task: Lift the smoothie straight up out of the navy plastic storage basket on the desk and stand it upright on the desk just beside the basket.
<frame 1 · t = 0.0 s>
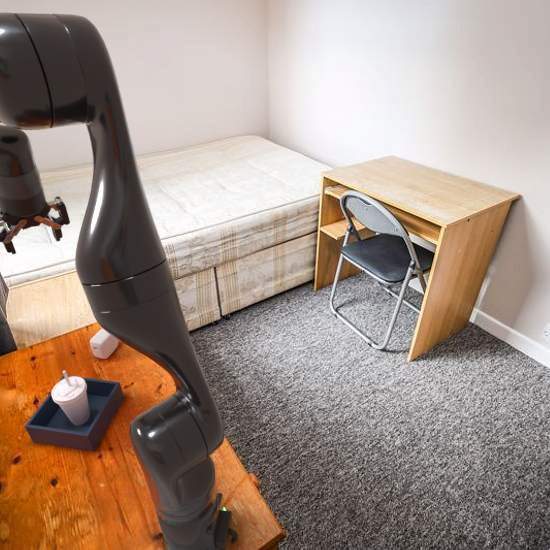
hand: (35, 244, 81), 31 cm above the table, tool tilted 20°, fingers open, 8 cm apart
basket: (81, 418, 83), on the table
power adapter: (113, 345, 101), on the table
smoothie: (81, 418, 83), resting on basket
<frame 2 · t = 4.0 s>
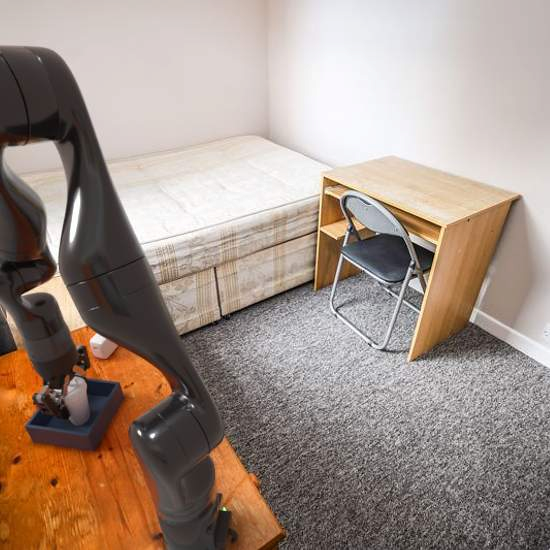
hand: (74, 402, 80), 5 cm above the table, tool pointing down, fingers closed on smoothie, 6 cm apart
smoothie: (81, 418, 83), resting on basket, touching gripper
everything else where it was.
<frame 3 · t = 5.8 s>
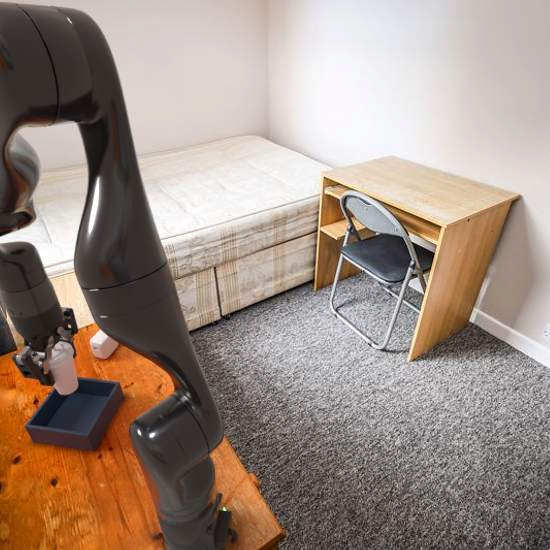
hand: (60, 369, 74), 16 cm above the table, tool pointing down, fingers closed on smoothie, 6 cm apart
smoothie: (68, 388, 77), point 10 cm above the table, touching gripper
everything else where it was.
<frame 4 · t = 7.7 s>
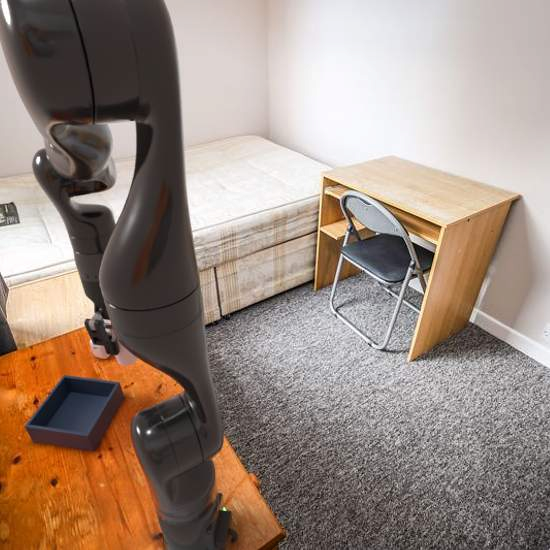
hand: (122, 340, 73), 21 cm above the table, tool pointing down, fingers closed on smoothie, 6 cm apart
smoothie: (127, 359, 76), point 16 cm above the table, touching gripper
everything else where it was.
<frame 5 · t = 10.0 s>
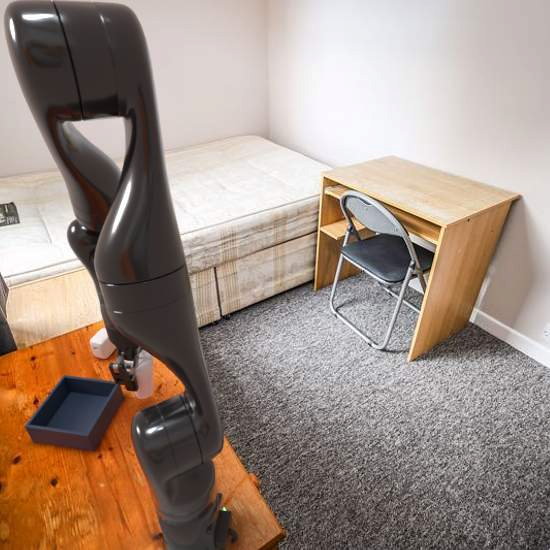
hand: (140, 376, 80), 10 cm above the table, tool pointing down, fingers closed on smoothie, 6 cm apart
smoothie: (144, 392, 83), point 5 cm above the table, touching gripper
everything else where it was.
when the fingers open (5 cm above the table, at t = 11.8 s): smoothie stays where it is, on the table.
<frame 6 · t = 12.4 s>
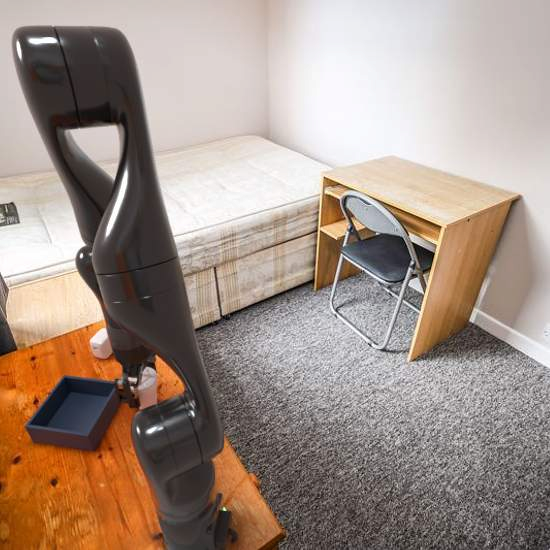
hand: (144, 390, 82), 6 cm above the table, tool pointing down, fingers open, 8 cm apart
smoothie: (148, 407, 86), on the table
everything else where it was.
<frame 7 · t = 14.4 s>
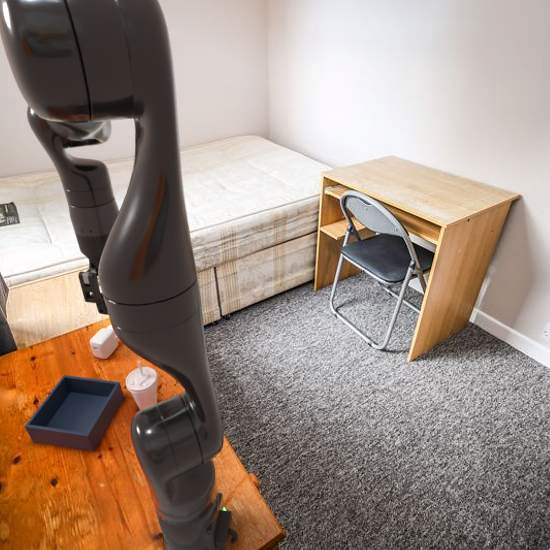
hand: (117, 299, 74), 27 cm above the table, tool pointing down, fingers open, 8 cm apart
nothing on the table moved.
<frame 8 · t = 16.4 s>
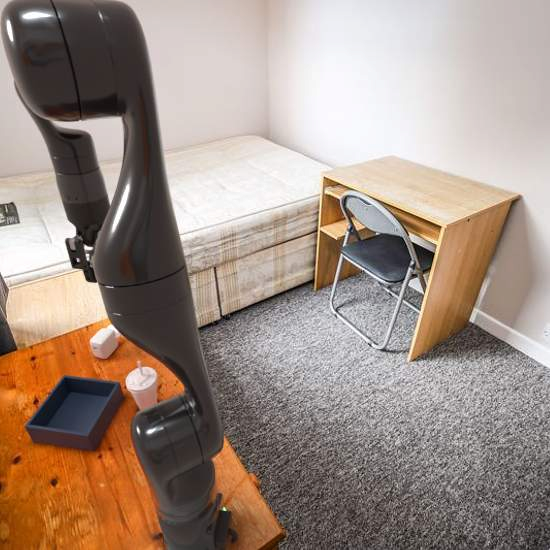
hand: (104, 269, 77), 30 cm above the table, tool pointing down, fingers open, 8 cm apart
nothing on the table moved.
at the end: smoothie inside the target area (0.0 cm from its centre), on the table; smoothie tilted 0°; the gripper is holding nothing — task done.
